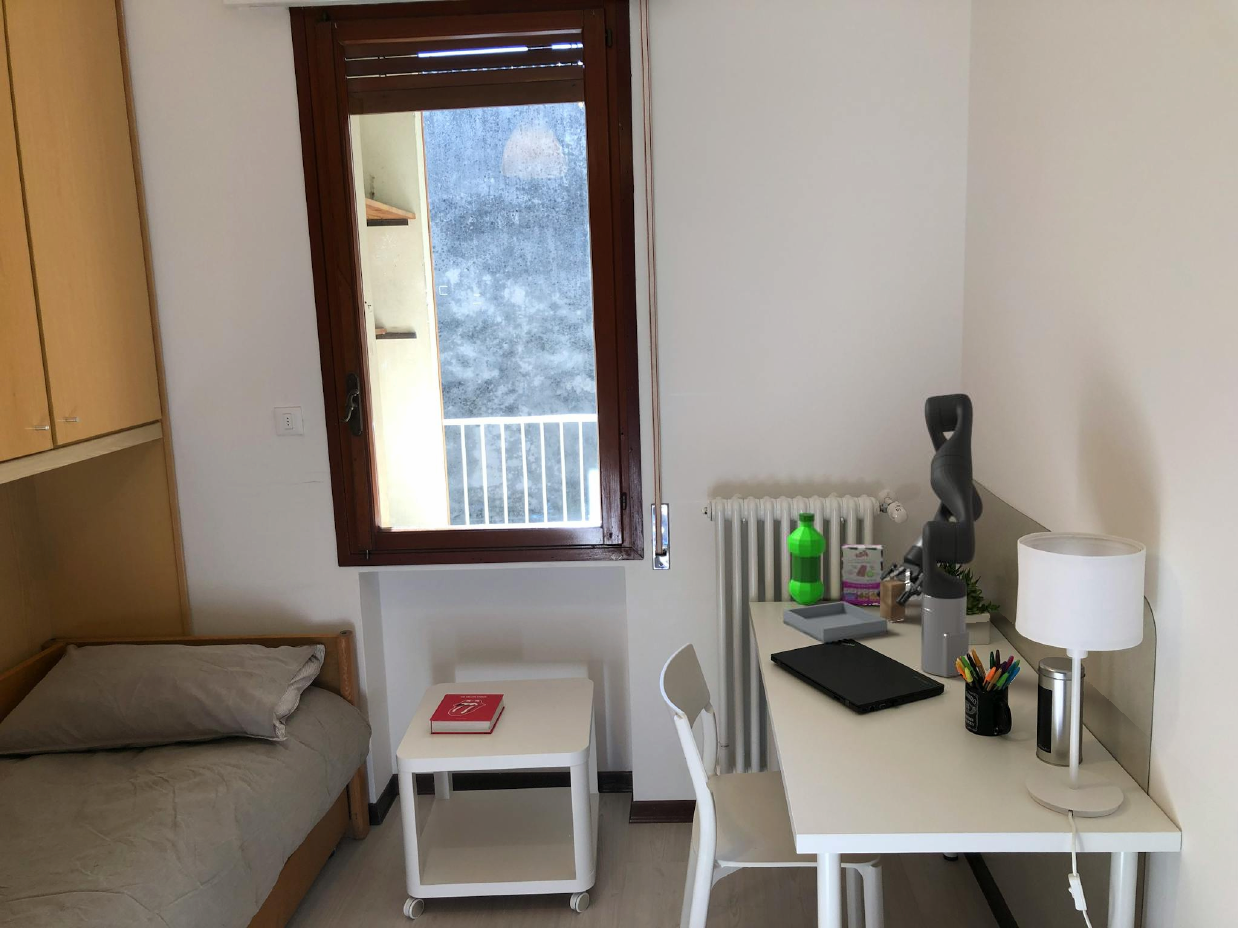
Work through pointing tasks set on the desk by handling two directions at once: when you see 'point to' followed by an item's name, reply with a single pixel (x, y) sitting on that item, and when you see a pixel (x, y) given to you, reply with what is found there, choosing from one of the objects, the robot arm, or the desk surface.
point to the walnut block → (891, 600)
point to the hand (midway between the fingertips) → (888, 600)
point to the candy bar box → (861, 573)
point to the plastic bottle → (806, 561)
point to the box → (834, 621)
